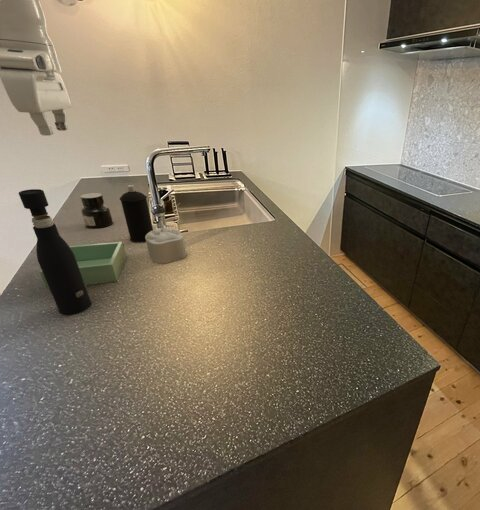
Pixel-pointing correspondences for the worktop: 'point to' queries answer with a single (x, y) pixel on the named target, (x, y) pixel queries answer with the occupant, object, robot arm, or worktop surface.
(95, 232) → the worktop surface
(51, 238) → the black water bottle
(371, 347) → the worktop surface
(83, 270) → the green square tray
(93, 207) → the ink bottle
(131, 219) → the aerosol can
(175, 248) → the lumpy-topped squat cylinder
